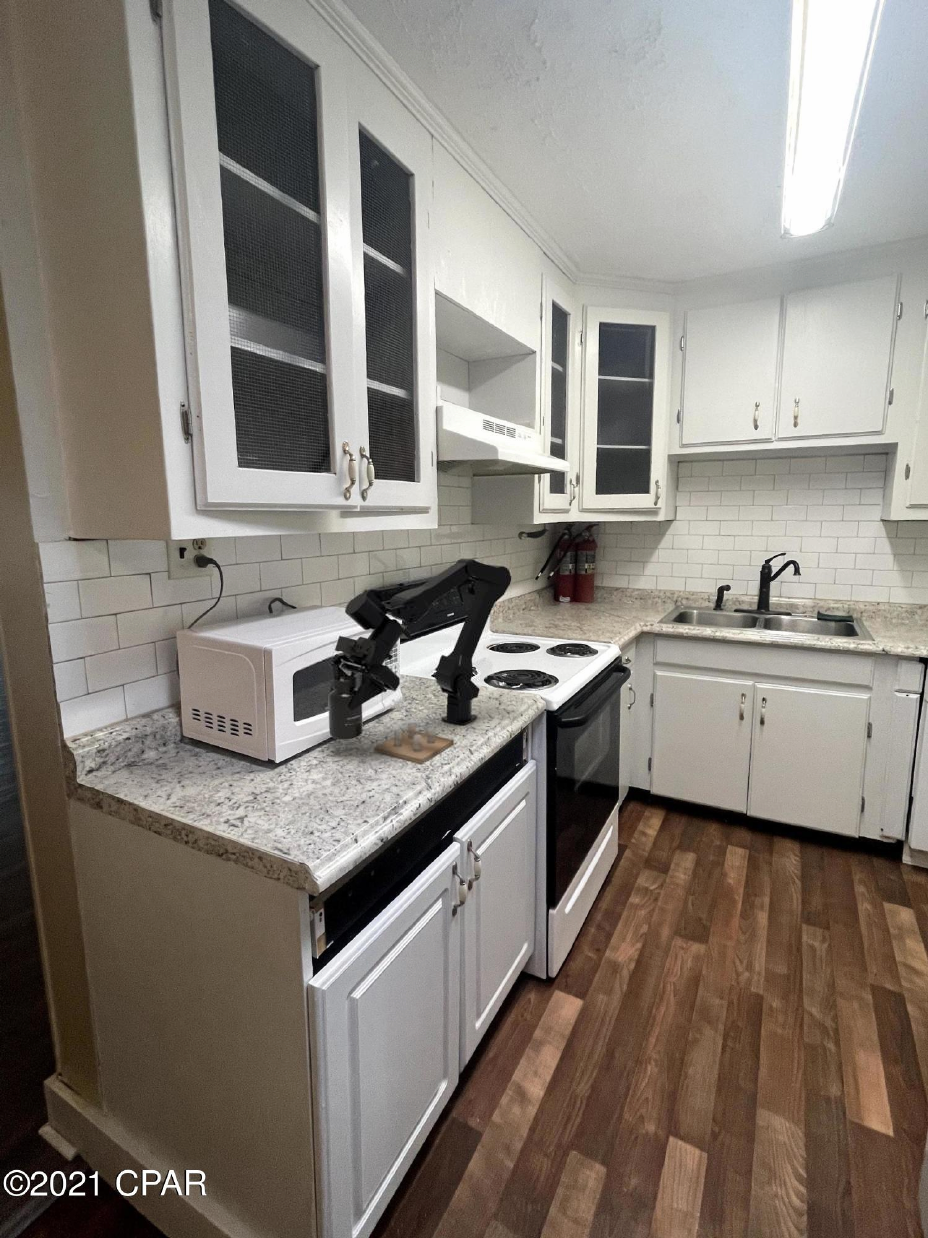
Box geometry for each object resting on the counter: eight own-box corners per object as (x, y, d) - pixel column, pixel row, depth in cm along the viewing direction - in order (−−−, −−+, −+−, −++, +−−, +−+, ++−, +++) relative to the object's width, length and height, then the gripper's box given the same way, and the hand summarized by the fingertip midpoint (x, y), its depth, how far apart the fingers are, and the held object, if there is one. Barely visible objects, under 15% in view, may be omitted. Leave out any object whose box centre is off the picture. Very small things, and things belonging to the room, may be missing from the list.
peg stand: (408, 733, 133) (408, 716, 132) (453, 744, 127) (453, 726, 126) (374, 751, 123) (374, 733, 122) (421, 764, 117) (421, 745, 116)
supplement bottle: (355, 741, 118) (353, 684, 116) (324, 739, 119) (321, 682, 117) (367, 729, 125) (366, 674, 122) (337, 727, 126) (335, 673, 124)
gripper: (331, 615, 127) (288, 675, 121) (387, 626, 114) (342, 694, 108) (361, 645, 134) (322, 703, 128) (417, 658, 121) (377, 723, 116)
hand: (339, 705), depth 120 cm, fingers closed on supplement bottle, 7 cm apart
